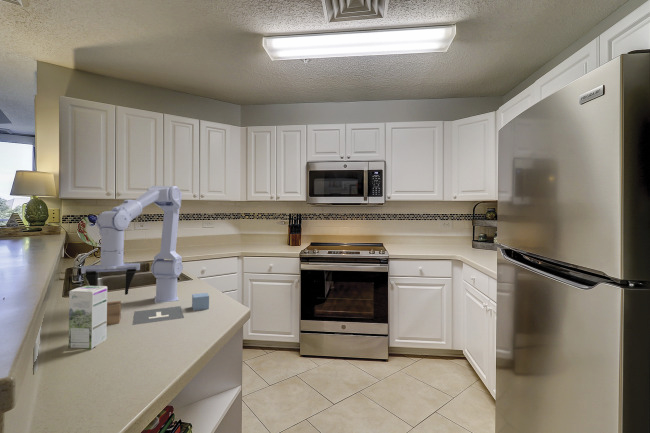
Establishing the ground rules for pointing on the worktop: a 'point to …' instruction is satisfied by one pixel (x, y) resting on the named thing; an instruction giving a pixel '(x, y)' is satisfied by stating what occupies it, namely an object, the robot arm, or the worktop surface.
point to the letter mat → (157, 315)
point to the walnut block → (113, 312)
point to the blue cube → (200, 301)
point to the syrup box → (87, 316)
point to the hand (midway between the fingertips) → (111, 295)
